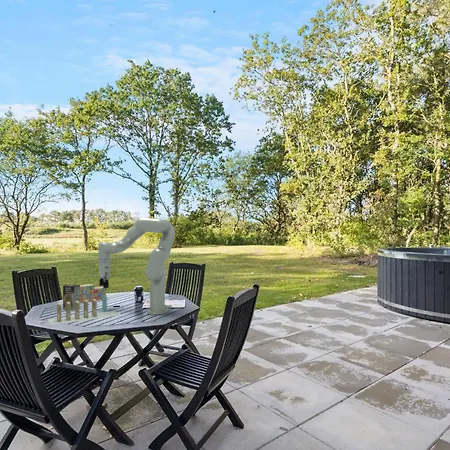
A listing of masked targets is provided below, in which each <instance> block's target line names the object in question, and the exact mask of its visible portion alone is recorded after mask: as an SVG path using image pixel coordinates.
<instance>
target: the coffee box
mask: <svg viewBox="0 0 450 450" xmlns="http://www.w3.org/2000/svg"><path fill="white" fill-rule="evenodd" d="M75 301H79V302H80V285H79V284H65V285H64V284H63V286H62V310H65V311H66V302H70V303H71V311H75Z"/></svg>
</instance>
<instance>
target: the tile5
mask: <svg viewBox="0 0 450 450" xmlns="http://www.w3.org/2000/svg"><path fill="white" fill-rule="evenodd" d="M71 311H72V310H71V303H70V302H66V310H65V317H66V319H67V320H68V321H69V320H71V316H72V315H71Z"/></svg>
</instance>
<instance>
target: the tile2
mask: <svg viewBox="0 0 450 450" xmlns="http://www.w3.org/2000/svg"><path fill="white" fill-rule="evenodd" d="M97 311H98V301H97V300H95V299H92V302H91V314H92V316H93V317H97V313H98V312H97Z"/></svg>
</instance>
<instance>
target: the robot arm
mask: <svg viewBox="0 0 450 450" xmlns="http://www.w3.org/2000/svg"><path fill="white" fill-rule="evenodd" d="M146 233H155V234H161V237H160V240H159V242H158V245H157V248H154V249H153V250H152V251H151V253H150V255H149V257H148V260H147V263H146V267H145V272H144V273H145V277H146V278H147V279H148V280H149V281H150V282H149V309H148V310H147V314H149V315H154V316H155V315H158V316H159V315H164V314H166V313H168V309H172V308H173V305H172V304H169V305H168V304H167V305H166V274H167V270H166V267H165V266H164V263H165V262H166V261H168V259H169V258H170V255H171V252H172V248H173V244H174V241H175V238H176V228H175V227H174V225H173V224H172V222H170V221H169V220H166V219H157V218H148V217H139V218H137V219H136V220H135V222H134V225H132V226H130V228H128V230H126V234H125V236H124V237H122V238H121V239H120V240H119V241H114V242H108V241H101V242H99V243H98V253H97V254H98V257H97V258H98V259H97V262H98V264H99V268H98V276H99V285H98V287H103V288H106V289H109V285H110V284H109V283H110V281H109V280H110V278H111V267H110V265H111V254H112V255H113V254H121V253H123V252H125V251H126V250H128V249H129V248H130V247H131V246H132V245H133V244H135V242H136V241H137V240H138V239H140V238H141V237H142V236H144V235H145V234H146Z"/></svg>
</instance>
